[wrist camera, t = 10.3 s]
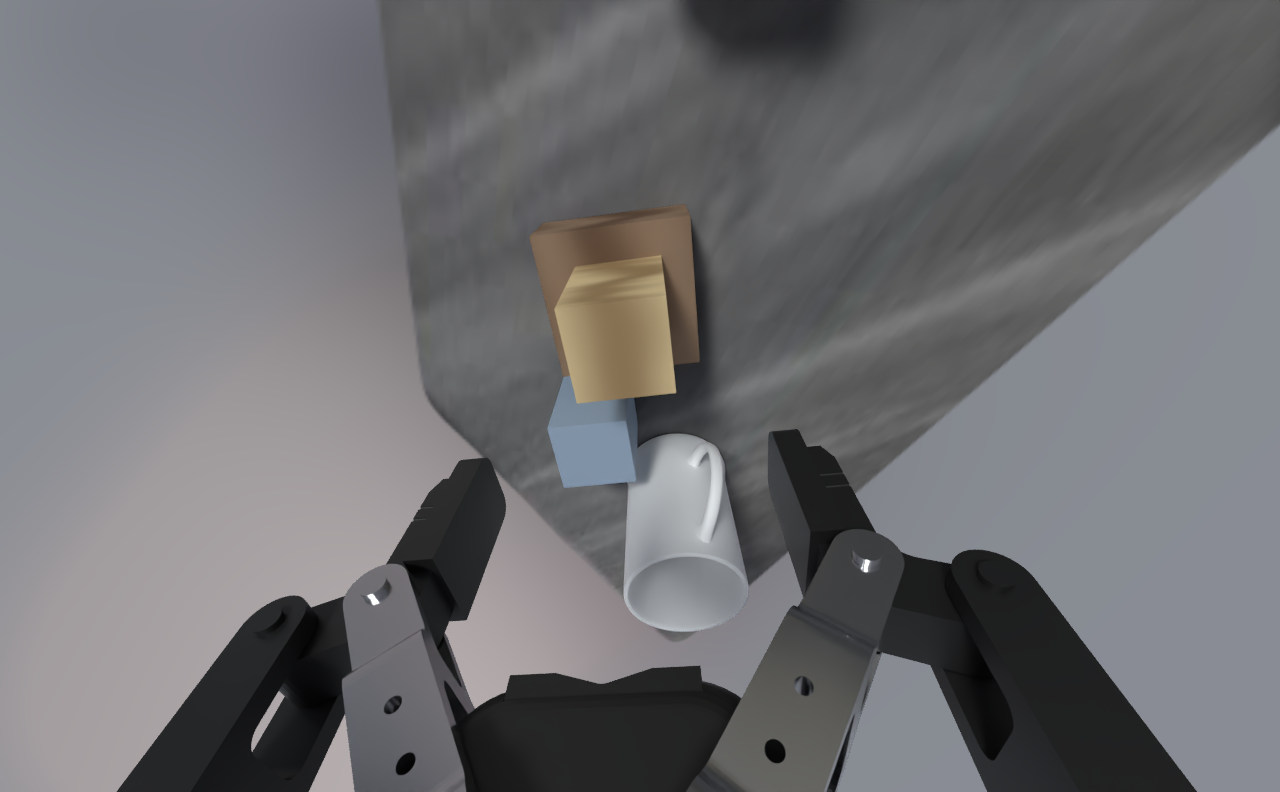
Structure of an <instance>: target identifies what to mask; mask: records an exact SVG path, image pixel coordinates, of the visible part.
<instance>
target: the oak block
mask: <svg viewBox="0 0 1280 792" xmlns="http://www.w3.org/2000/svg"><path fill="white" fill-rule="evenodd" d="M554 310H555V314H556V318H557V323H558V327H559V331H560V335H561V339H562V344H563V348H564V352H565V356H566V360H567V364H568V369H569V373H570V377H571V381H572V385H573V389H574V394H575V398H576V402H577V404H579V403H588V402H597V401H607V400H616V399H625V398H635V397H644V396H653V395H663V394H672V393H676V385H675V376H674V366H673V357H672V347H671V337H670V328H669V318H668V309H667V299H666V290H665V282H664V274H663V266H662V258H661V255H660V256H653V257H645V258H638V259H630V260H622V261H615V262H607V263H599V264H592V265H584V266H576V267H575V268H574V270H573V272H572V274H571V276H570V278H569V280H568V282H567V284H566V286H565V288H564V290H563V292H562V294H561V296H560V299H559V301H558V303H557V305H556V307H555V309H554Z"/></svg>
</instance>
